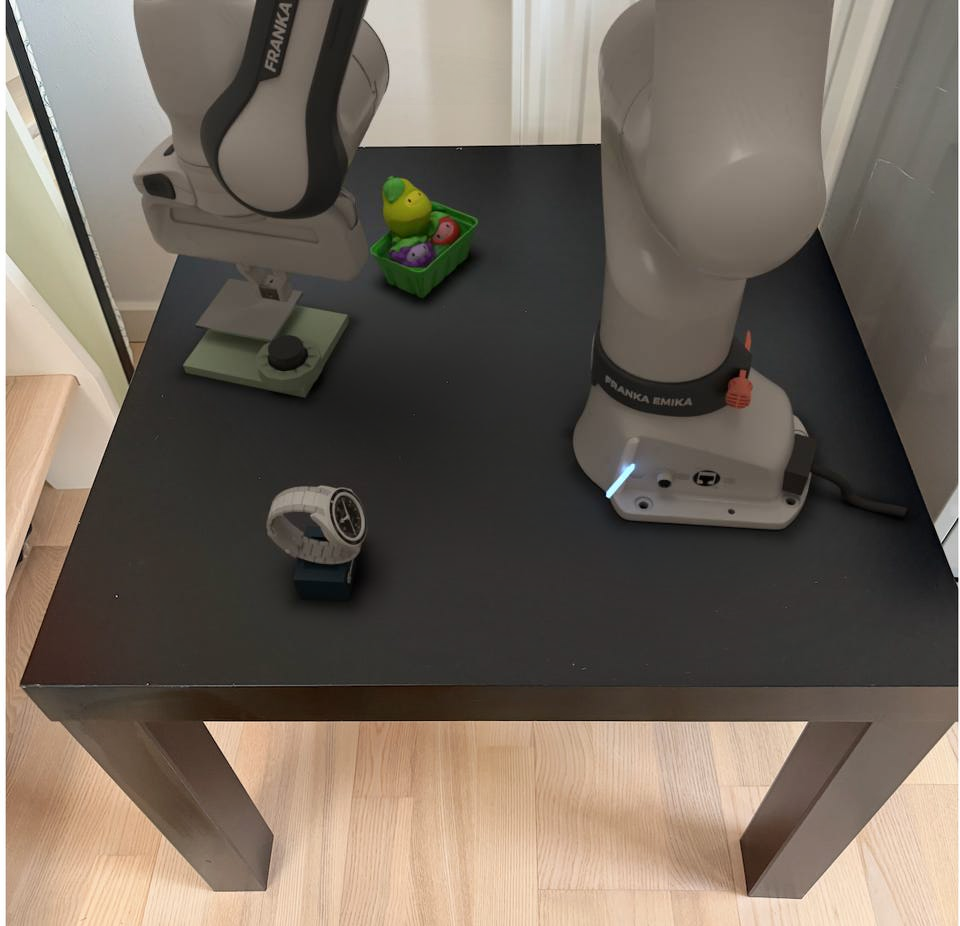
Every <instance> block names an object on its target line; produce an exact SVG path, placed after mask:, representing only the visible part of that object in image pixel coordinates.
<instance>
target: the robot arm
mask: <svg viewBox="0 0 960 926" xmlns="http://www.w3.org/2000/svg"><path fill="white" fill-rule="evenodd" d="M369 1H370V0H133V5H132V6H133V7H132V10H133V20H134V26H135V32H136V36H137V41H138V45H139V49H140V52H141V56H142V59H143V63H144V66H145V69H146V72H147V73H146V74H147V76H148V78H149V79H148V80H149V81H150V85H151V89H152V90H153V93H154V96H155V99H156V101H157V103H158V105H159V106H160V108H161V110H162V111H163V112H164V114H165V115H166V116H167V119H168V120H169V123H170V127H171V128H170V129H171V135H169V136H167V137H166V138H165V139H164V140H162V142H160V144H158V145H157V146H156V147H155V148H154V149H153V150H152V151H151V152H150V153H149V154H147V156H146V158H145V159H144V160H143V161H142V162H141V163H140V165H139V166H138V167H137V168H136V170H135V172H134V173H133V174H132V181H133V184H134V186H135V188H136V190H137V191H138V192H139V193H140V194H141V195H142V196H141V201H140V202H141V208H142V211H143V214H144V218H145V220H146V223H147V226H148V229H149V231H150V233H151V235H152V238H153V240H154V242H155V243H156V244H157V245H158V246H159V247H160V248H161V249H162V250H163V251H165V252H166V253H168V254H173V255H180V256H187V257H193V258H198V259H199V258H200V259H205V260H211V261H218V262H223V263H229V264H235V266H236V269H237V271H238V272H239V273H240V274H241V275H242V276H243V277H244V278H245V279H246V280H247V282H250V283H251V284H252V285H254V288H255V291H256V294H257V297H258V298H264V299H270V300H276V301H282V302H287V301H288V299H289V298H290V296H291V294H292V290H293V288H292V284H291V280H290V279H291V277H292V275H293V274H298V275H304V276H311V277H317V278H323V279H329V280H334V281H335V280H336V281H341V282H351V281H353V280H354V279H355V278H356V277H357V276H358V275H359V274H360V272H361V271H362V270H363V269H364V266H365V265H366V263H367V260H368V258H369V255H370V252H369V251H370V249H369V246H368V241H367V238H366V235H365V232H364V228H363V226H362V223H361V220H360V217H359V211H358V205H357V200H356V198H355V196H354V194H352V193H351V192H349V191H348V190H347V189H345V188H343V185H344V182H345V179H346V177H347V174H348V172H349V167H350V165H351V164H352V161H353V159H354V158H355V155H356V154H357V151H358V150H359V148H360V145H362V141H363V140H364V138H365V136H366V133H367V132H368V130H369V128H370V125H371V123H372V122H373V119H374V118H375V115H376V113H377V112H378V110H379V107H380V105H381V103H382V101H383V99H384V96H385V95H386V92H387V89H388V87H389V83H390V75H391V74H390V72H391V71H390V63H389V58H388V55H387V52H386V49H385V46H384V44H383V42H382V40H381V38H380V37H379V35H378V34H377V31H375V30H374V28H373V27H372V26H371V25H370V23H369V22H368V21H367V20H365V16H366V15H365V14H366V12H367V8H368V5H369ZM835 1H836V0H638V1H635V2H633V4H631V5H629V6H628V7H627V8H626V9H625V10H624V11H622V12H621V13H620V14H619V15H618V17H617V18H615V20H614V21H613V22H612V24H611V25H610V27H609V29H608V30H607V32H606V34H605V36H604V37H603V40H602V43H601V46H600V49H599V53H598V58H597V59H598V60H597V77H598V92H599V93H598V94H599V104H600V105H599V106H600V108H599V109H600V159H601V163H600V164H601V165H600V167H601V192H602V208H603V209H602V211H603V227H604V240H605V264H604V265H605V267H604V279H603V281H604V282H603V291H602V292H603V293H602V302H601V303H602V304H601V315H600V318H599V321H598V323H597V326H596V329H595V332H594V334H593V338H592V345H591V352H590V365H589V367H590V368H589V371H590V383H591V387H590V391H589V395H588V398H587V401H586V404H585V407H584V408H583V411H582V413H581V416H580V417H579V419H578V421H577V422H576V425H575V427H574V431H573V434H572V435H573V436H572V447H573V453H574V455H575V458H576V461H577V463H578V465H579V466H580V468H581V469H582V471H583V472H584V474H585V475H586V476H587V477H588V478H589V479H590V480H591V481H592V482H594V483H595V484H596V485H597V486H598V487H599V488H600V489H601V490H602V491H604V492H605V494H606V495H605V497H607V498H608V499H609V502H610V503H611V505H612V507H613V509H614V511H615V513H616V514H617V515H618V516H619V517H621V518H622V519H624V520H627V521H633V522H647V523H648V522H649V523H663V524H665V523H666V524H677V525H679V524H680V525H696V526H711V527H712V526H713V527H724V528H725V527H727V528H728V527H729V528H742V529H743V528H745V529H759V530H775V531H776V530H783V529H786V528H787V527H789V525H791V523H792V522H794V520H795V519H796V518H797V517H798V516H799V514H800V512H801V511H802V509H803V507H804V504H805V502H806V500H807V496H808V493H809V488H810V485H811V484H810V483H811V478H812V475H815V476H817V477H819V478H821V479H824V480H826V481H828V482H830V483H832V484H833V485H835V486H837V487H838V488H839V491H840V495H841V497H842V498H843V500H845V501H846V502H847V503H849V504H850V505H852V506H854V507H856V508H859V509H861V510H864V511H868V512H873V513H879V514H885V515H890V516H895V517H899V518H904V517H905V516H906V512H907V507H905V506H901V505H898V504H897V505H896V504H891V503H886V502H879V501H875V500H870V499H867V498H863V497H861V496H859V495H857V494H855V493H853V490H852V486H851V484H850V482H849V481H848V480H847V479H846V478H845V477H843V476H842V475H840V474H839V473H837V472H836V471H833V470H831V469H829V468H826V467H824V466H822V465H820V464H818V463H815V462H814V460H815V456H816V451H817V448H818V444H819V441H820V440H819V439H818V438H814V437H810V436H809V434H808V432H807V430H806V428H805V426H804V424H803V423H802V421H801V420H800V418H798V416H796V415H794V412H793V407H792V404H791V401H790V398H789V396H788V395H787V393H786V392H785V391H784V389H783V388H782V387H780V386H779V385H778V384H776V383H775V382H773V381H771V380H770V379H769V378H768V377H765V376H764V374H761V373H760V372H758V371H757V370H756V369H755V368H753V367H752V364H753V363H752V361H753V355H752V352H751V346H752V337H751V331H750V330H747V332H746V335H745V336H746V337H745V339H744V344H743V342H742V341H741V340H740V339H738V337H737V336H736V335H735V330H736V325H737V320H738V317H739V313H740V308H741V304H742V301H743V297H744V293H745V288H746V286H747V285H746V284H747V280H748V279H751V278H756V277H758V276H761V275H764V274H766V273H768V272H771V271H773V270H775V269H776V268H778V267H780V266H781V265H783V264H784V263H786V262H788V261H789V260H790V259H791V258H792V257H794V256H795V255H796V254H797V253H798V252H799V251H800V250H801V249H802V248H803V247H804V246H805V245H806V244H807V243H808V241H809V240H810V239H811V237H812V236H813V235H814V233H815V232H816V230H817V229H818V228H819V227H818V226H820V223H821V221H822V219H823V215H824V213H825V210H826V204H827V186H826V179H825V173H824V164H823V163H824V162H823V153H822V116H823V104H824V96H825V86H826V75H827V67H828V57H829V51H830V49H829V48H830V41H831V40H830V39H831V31H832V24H833V14H834V7H835ZM265 269H267V270H271V273H272V274H270V273H268V272H267V271H266V270H265ZM789 503H790V504H789ZM641 507H644V508H641Z"/></svg>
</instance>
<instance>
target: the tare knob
mask: <svg viewBox="0 0 960 926" xmlns="http://www.w3.org/2000/svg"><path fill="white" fill-rule="evenodd" d="M268 353H269V357H270V360H271V363H272V366H273V367H274V368H275V369H277V370H280V371H290V370H295V369H297V368H298V367H300V366H302V365H303V364H304V362H305V360H306V354H305V350H304V346H303V342H302V341H301V339H299V338H298V337H296V336H293V335H284V336H280V337H277V338H276V339H274V340H273V341H272V342H271V343H270V344H269V346H268Z"/></svg>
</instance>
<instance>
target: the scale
mask: <svg viewBox="0 0 960 926" xmlns="http://www.w3.org/2000/svg"><path fill="white" fill-rule="evenodd" d="M349 323H350V320H349V316H348V314H346V313H342V312H341V313H340V312H335V311H329V310H323V309H318V308H314V307H307V306H302V305H299V304H297V305H296V306H295V308H294V309H293V311H292V313H291V314H290V316H289V317H288V319H287V320H286V322H285V323H284V325H283V326H282V328H281V330H280V331H279V333H278V334H277V336H276V337H275V339H276V338H277V337H280V336H284V335H293V336H296V337H298V338H299V339H301V341H302V342H303V346H304V350H305V354H306V360H305V362H304V364H303V365H302V366H300V367H298V368H297V369H295V370H290V371H280V370H277V369H275V368H274V367H273V366H272V363H271V360H270V357H269V353H268V346H269V344H270V343H271V342H268V341H262V340H257V339H252V338H247V337H242V336H237V335H232V334H227V333H222V332H217V331H211V330H206V332H205V333H204V335H203V336H202V338H201V340H200V341H199V342H198V343H197V345H196V346H195V347H194V349H193V350H192V352H191V353H190V354H189V356H188V357H187V359H186V360H185V362H184V363H183V364H182V366H183V369H184V372H185V373H186V374H189V375H195V376H198V377H204V378H208V379H212V380H214V379H215V380H217V381H224V382H228V383H233V384H237V385H243V386H247V387H253V388H257V389H262V390H267V391H272V392H275V393H281V394H286V395H291V396H295V397H301V398H307V396H308V394H309V392H310V391H311V389H312V387H313V385H314V384H315V382H317V380H318V379H319V376H320V375H321V374H322V371H323V370H324V367H325V365H326V363H327V361H328V360H329V358H330V356H331V354H333V351H334V349H335V347H336V346H337V344H338V343H339V341H340V339H341V338H342V336H343V334H344V332H345V331H346V329H347V327H348V325H349Z"/></svg>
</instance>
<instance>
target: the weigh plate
mask: <svg viewBox="0 0 960 926" xmlns="http://www.w3.org/2000/svg"><path fill="white" fill-rule="evenodd" d="M303 296H304V292H303V290H295V289H292V294H291V296H290V298H289V299H288V301H287V302H282V301H276V300H270V299H264V298H258V297H257V294H256V291H255V288H254V285H252V284H251V283H250V282H249V281H248V280H247V281H245V280H241V279H236V278H231V277H230V278H228V279H227V281H226V282H225V284H223V286H222V288H221V289H220V290H219V292H218V293H217V294H216V295H215V297H214V299H213V300H212V301H211V302H210V304H209V306H208V307H207V308H206V309H205V311H204V312H203V313H202V315H201V316H200V318H199V319H198V320H197V322H196V323H195V324H194V325H195V328H197V329H201V330H206V331H208V330H211V331H217V332H222V333H227V334H232V335H237V336H242V337H247V338H252V339H257V340H262V341H268V342H272V341H273V340H274V339H275V337H276V336H277V334H278V333H279V331H280V330H281V328H282V326H283V325H284V323H285V322H286V320H287V319H288V317H289V316H290V314H291V313H292V311H293V309H294V308H295V306H296V305H298V303H299V302H300V301H301V298H302V297H303Z"/></svg>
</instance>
